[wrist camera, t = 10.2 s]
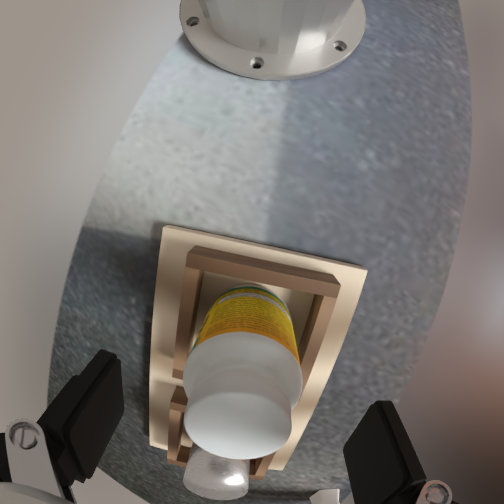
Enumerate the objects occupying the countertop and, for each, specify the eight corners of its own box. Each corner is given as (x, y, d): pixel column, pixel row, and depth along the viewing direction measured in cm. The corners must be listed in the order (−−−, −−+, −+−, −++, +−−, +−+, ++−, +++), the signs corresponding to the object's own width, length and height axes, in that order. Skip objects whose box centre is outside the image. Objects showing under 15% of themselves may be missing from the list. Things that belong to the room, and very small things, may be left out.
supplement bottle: (291, 353, 19) (307, 466, 10) (213, 356, 19) (182, 466, 10) (289, 278, 18) (314, 373, 8) (202, 283, 18) (149, 375, 9)
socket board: (168, 224, 18) (151, 232, 15) (362, 266, 18) (378, 280, 16) (152, 438, 23) (144, 459, 20) (281, 462, 23) (283, 485, 20)
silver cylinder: (199, 408, 20) (183, 464, 15) (257, 419, 20) (255, 477, 15) (193, 441, 21) (180, 492, 16) (245, 451, 22) (242, 503, 16)
